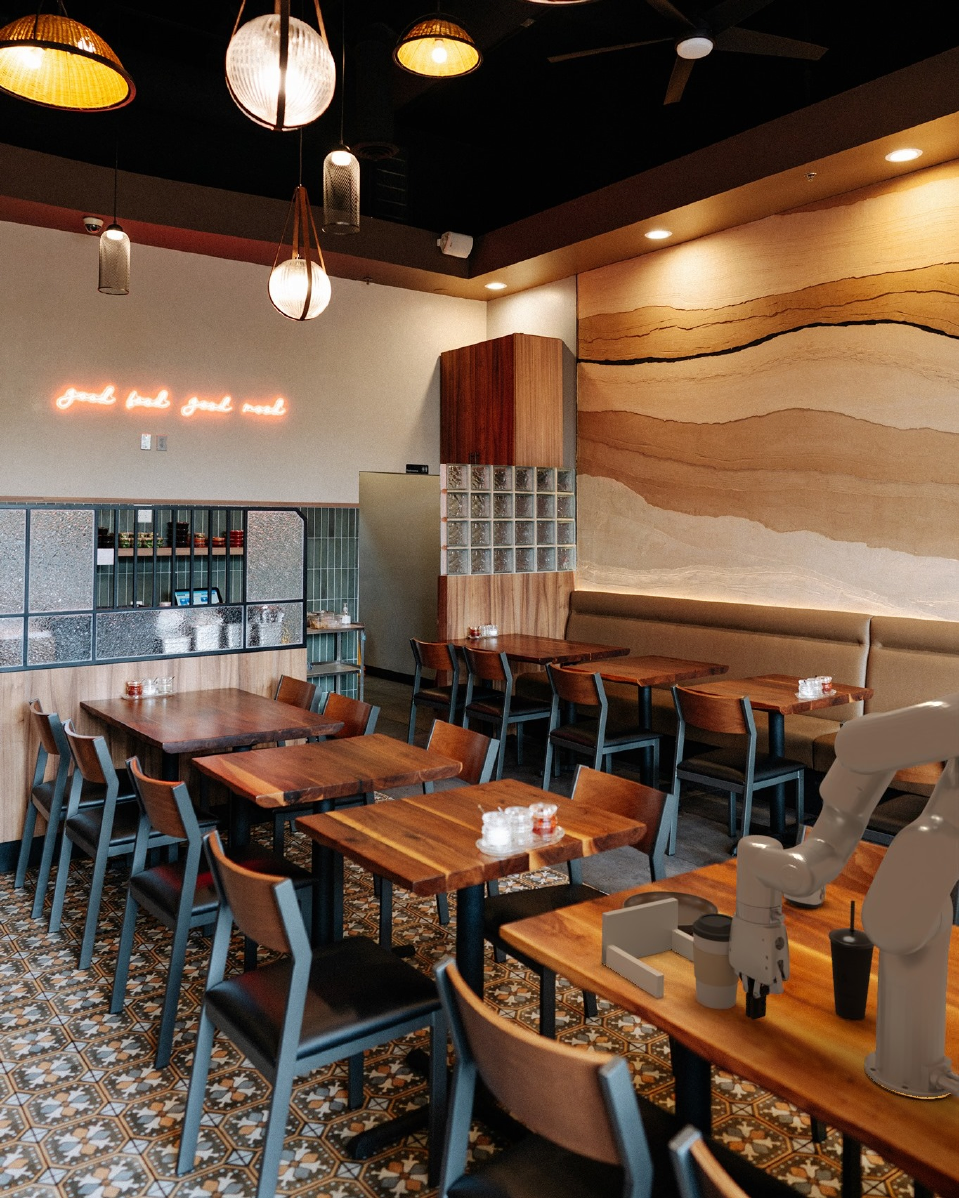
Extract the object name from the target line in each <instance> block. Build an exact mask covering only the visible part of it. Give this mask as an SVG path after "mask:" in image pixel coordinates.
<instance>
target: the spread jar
mask: <svg viewBox="0 0 959 1198" xmlns="http://www.w3.org/2000/svg"><path fill="white" fill-rule="evenodd" d="M826 892H827V885H825V886H824V887H822V888H821V889H820V890H818V891H817V892H815V893H814V894H812V895H811V896H809V897H805V898H795V897H791V896H789V895H786V894H784V893H782V895H783V897H784V900H785V901H786V902H787V903H788V904H790V905H791V906H793V907H795V906H796V908H799V909H804V908H805V909H806V910H815V909H818V908H820V907H821V906H822V905H823V903H824V900H825V898H826V894H827V893H826ZM814 908H815V909H814Z"/></svg>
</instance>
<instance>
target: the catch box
mask: <svg viewBox="0 0 959 1198" xmlns="http://www.w3.org/2000/svg"><path fill="white" fill-rule="evenodd" d="M601 915H602V917H601V919H602V920H601V924H602V925H601V964H602V963H603V964H605V965H607V966H608V967H610V968H611V969H612V970H611V969H610V968H609V969H610V970H611V971H613V970H614V971H615V973H616V972H617V973H616V974H618V973H619V974H621V975H622V976H623V977H622V976H621V975H620V976H621V977H622V978H624V977H626V978H627V979H629V980H630V981H631V983H632V982H633V983H634V984H633V983H632V984H633V985H635V984H636V985H635V986H637V987H638V986H639V987H638V988H640V989H641V990H644V991H645V992H646V991H647V992H646V993H648V994H649V993H650V995H651V996H653V997H654V998H656V999H661V998H662V997H663V996H664V993H665V990H664V989H665V974H664V973H662V972H660V971H658V970H657V969H655V968H654V967H651V966H650V965H648V964H646V963H645V962H643V961H641V960H640V959H641V958H645V957H649V956H652V955H656V953H657V954H660V953H664V951H665V952H669V951H673V952H675V951H676V952H677V954H678V953H679V955H680V956H682V957H683V958H685V959H687V960H689V961H691V962H693V963H694V957H693V941H694V939H693V935H690V934H686V933H684V932H682V931H680V930H678V900H677V899H675V898H669V899H665V900H660V901H656V902H651V903H646V904H642V905H637V906H633V907H628V908H623V907H622V908H621V909H615V910H610V911H605V912H602V914H601ZM671 949H672V950H671ZM668 950H669V951H668ZM676 952H675V953H676ZM603 964H602V965H603ZM605 965H604V966H605ZM608 967H607V968H608ZM614 971H613V972H614ZM619 974H618V975H619ZM626 978H625V979H626ZM627 979H626V980H627ZM629 980H628V981H629ZM630 981H629V982H630Z"/></svg>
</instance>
